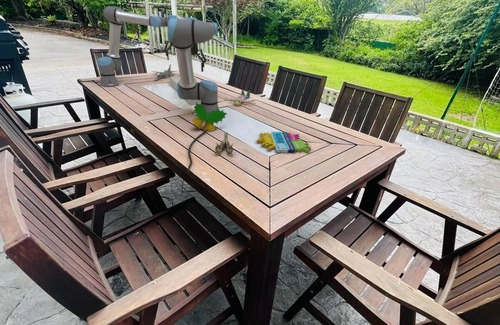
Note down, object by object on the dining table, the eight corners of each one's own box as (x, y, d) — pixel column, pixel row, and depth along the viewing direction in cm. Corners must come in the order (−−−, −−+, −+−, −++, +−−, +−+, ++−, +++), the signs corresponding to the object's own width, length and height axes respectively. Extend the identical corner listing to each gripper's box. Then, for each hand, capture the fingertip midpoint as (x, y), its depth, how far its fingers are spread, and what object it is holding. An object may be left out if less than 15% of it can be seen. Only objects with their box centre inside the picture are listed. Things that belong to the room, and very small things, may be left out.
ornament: (218, 133, 171) (224, 110, 169) (221, 134, 163) (227, 111, 161) (186, 125, 162) (192, 101, 160) (189, 126, 155) (195, 101, 153)
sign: (313, 150, 142) (258, 149, 139) (312, 153, 143) (258, 152, 140) (301, 132, 164) (254, 130, 161) (301, 134, 165) (254, 133, 162)
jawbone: (234, 135, 144) (233, 125, 135) (233, 160, 138) (232, 151, 129) (217, 135, 144) (216, 125, 135) (216, 160, 138) (214, 150, 129)
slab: (204, 104, 208) (203, 95, 205) (191, 105, 204) (190, 96, 201) (180, 83, 263) (180, 76, 260) (170, 84, 259) (169, 76, 255)
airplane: (147, 74, 291) (145, 64, 286) (175, 72, 304) (174, 63, 299) (153, 82, 263) (151, 72, 257) (184, 80, 276) (183, 70, 271)
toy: (261, 91, 228) (254, 99, 202) (261, 99, 231) (253, 108, 205) (231, 87, 233) (220, 95, 207) (230, 95, 236) (219, 104, 210)
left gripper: (186, 34, 242) (187, 59, 252) (158, 33, 231) (161, 59, 241) (188, 35, 236) (189, 60, 246) (160, 34, 225) (162, 60, 236)
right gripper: (207, 41, 198) (207, 70, 209) (174, 40, 187) (176, 71, 198) (210, 42, 193) (210, 72, 203) (176, 41, 182) (178, 73, 192)
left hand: (175, 60), depth 244 cm, fingers open, 13 cm apart
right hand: (193, 71), depth 200 cm, fingers open, 13 cm apart
